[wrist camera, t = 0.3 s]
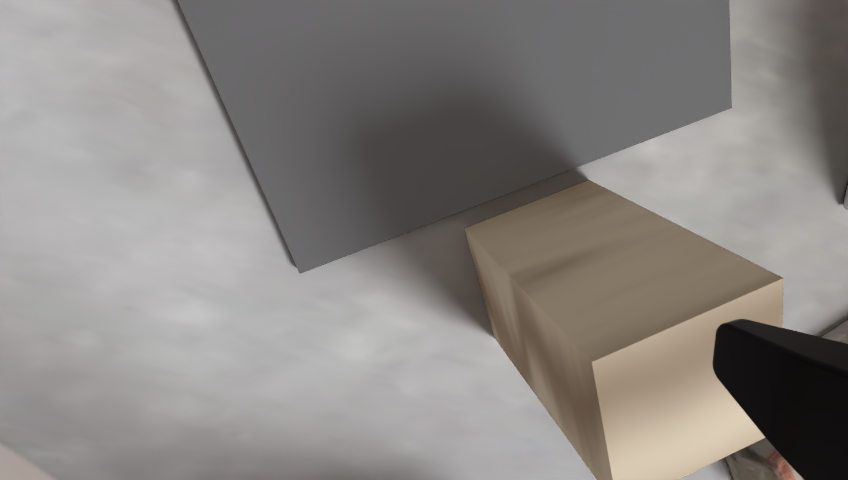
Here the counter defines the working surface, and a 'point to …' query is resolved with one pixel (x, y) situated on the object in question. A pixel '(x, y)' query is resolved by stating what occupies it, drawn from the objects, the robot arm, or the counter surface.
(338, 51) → the rubber mat
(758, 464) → the packaged product
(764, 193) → the counter surface
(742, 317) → the birch block
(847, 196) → the tea box
